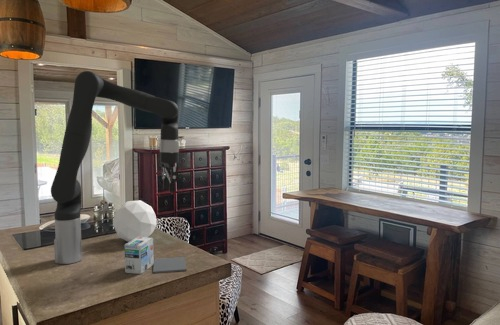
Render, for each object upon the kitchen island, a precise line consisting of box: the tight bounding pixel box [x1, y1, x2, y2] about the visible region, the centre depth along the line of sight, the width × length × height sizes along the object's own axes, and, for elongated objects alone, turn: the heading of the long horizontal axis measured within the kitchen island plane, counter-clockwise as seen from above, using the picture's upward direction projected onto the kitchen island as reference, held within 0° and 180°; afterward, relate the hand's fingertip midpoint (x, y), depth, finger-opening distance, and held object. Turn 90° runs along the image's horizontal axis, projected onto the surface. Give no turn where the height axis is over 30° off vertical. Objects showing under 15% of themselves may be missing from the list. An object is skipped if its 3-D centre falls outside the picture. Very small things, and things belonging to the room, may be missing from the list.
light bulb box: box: [124, 237, 155, 275], centre depth 147 cm, size 11×7×11 cm, turn 168°
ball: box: [112, 199, 157, 243], centre depth 182 cm, size 19×20×20 cm
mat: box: [152, 256, 187, 274], centre depth 151 cm, size 12×14×1 cm
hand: (169, 190), depth 160 cm, fingers open, 8 cm apart
